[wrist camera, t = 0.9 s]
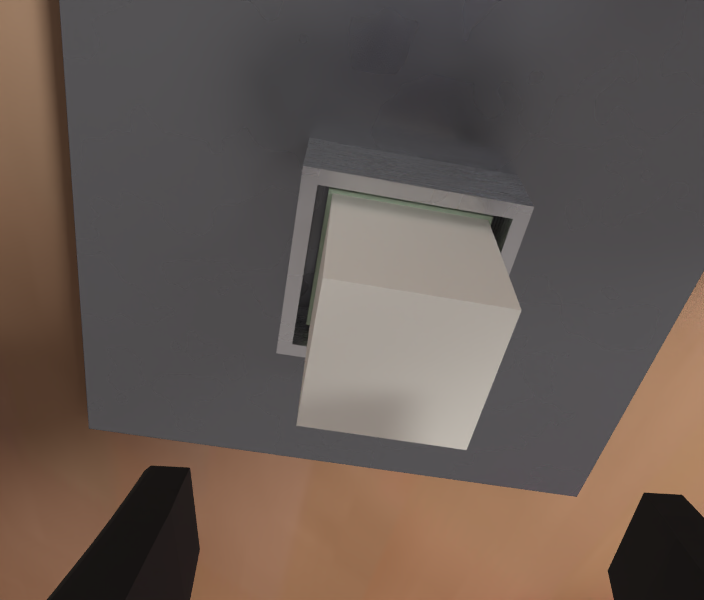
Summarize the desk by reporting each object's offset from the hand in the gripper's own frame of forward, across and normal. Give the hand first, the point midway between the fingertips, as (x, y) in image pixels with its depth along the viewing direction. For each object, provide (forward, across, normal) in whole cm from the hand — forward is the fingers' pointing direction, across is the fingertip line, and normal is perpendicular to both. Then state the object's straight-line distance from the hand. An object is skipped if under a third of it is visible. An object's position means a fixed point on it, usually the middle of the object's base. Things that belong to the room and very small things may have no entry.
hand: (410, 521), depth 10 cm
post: (+10, 0, 0) cm, 10 cm away
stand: (+10, 0, 0) cm, 10 cm away
